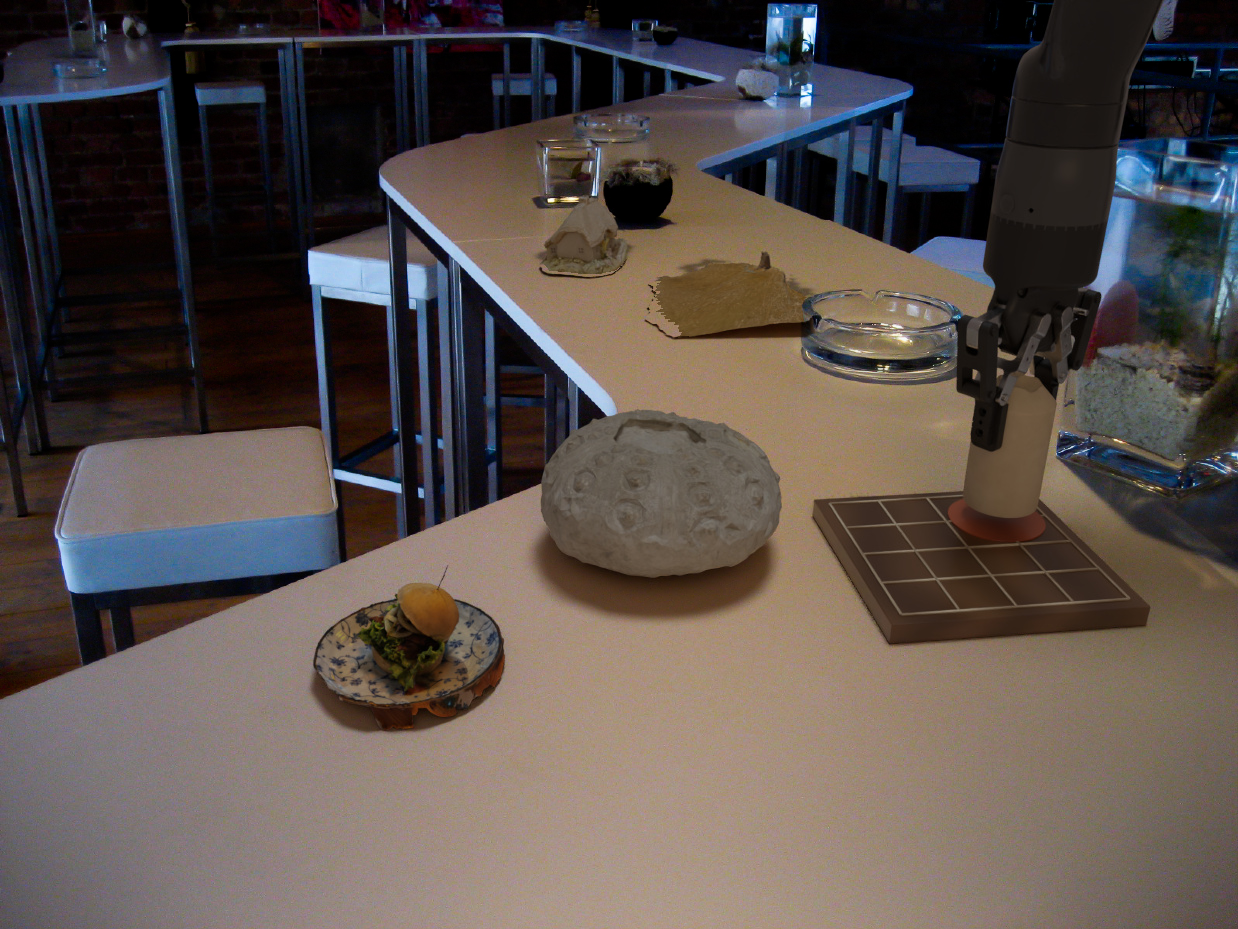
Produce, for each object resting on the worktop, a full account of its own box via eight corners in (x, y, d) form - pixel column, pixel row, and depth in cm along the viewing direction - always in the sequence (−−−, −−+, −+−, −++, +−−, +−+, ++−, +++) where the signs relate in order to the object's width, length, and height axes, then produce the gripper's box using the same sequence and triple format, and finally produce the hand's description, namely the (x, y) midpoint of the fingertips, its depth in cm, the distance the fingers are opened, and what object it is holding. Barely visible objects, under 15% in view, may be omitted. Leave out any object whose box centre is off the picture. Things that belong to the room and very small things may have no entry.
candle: (1011, 526, 80) (1033, 400, 75) (947, 500, 83) (965, 378, 79) (1051, 504, 83) (1075, 381, 78) (988, 479, 87) (1007, 361, 82)
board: (1024, 503, 89) (1028, 485, 89) (1146, 625, 73) (1151, 605, 73) (812, 515, 87) (813, 497, 87) (889, 644, 71) (892, 623, 71)
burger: (365, 607, 75) (354, 512, 72) (528, 628, 73) (524, 530, 70) (279, 715, 65) (262, 609, 61) (467, 744, 62) (459, 635, 59)
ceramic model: (600, 282, 148) (600, 209, 144) (528, 273, 152) (525, 201, 148) (639, 258, 160) (640, 189, 156) (571, 250, 164) (570, 183, 160)
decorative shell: (705, 480, 93) (709, 370, 89) (826, 579, 79) (838, 453, 74) (509, 523, 86) (503, 406, 82) (601, 640, 72) (600, 505, 67)
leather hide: (676, 274, 156) (673, 241, 153) (859, 282, 144) (859, 246, 142) (586, 358, 134) (581, 320, 131) (794, 375, 122) (791, 334, 120)
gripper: (1035, 235, 67) (994, 481, 74) (1158, 205, 75) (1110, 430, 82) (936, 213, 72) (907, 444, 79) (1061, 187, 80) (1024, 400, 87)
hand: (1010, 436), depth 81 cm, fingers closed on candle, 5 cm apart
